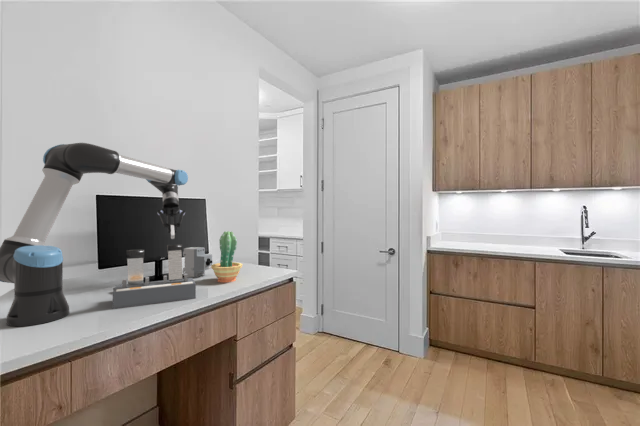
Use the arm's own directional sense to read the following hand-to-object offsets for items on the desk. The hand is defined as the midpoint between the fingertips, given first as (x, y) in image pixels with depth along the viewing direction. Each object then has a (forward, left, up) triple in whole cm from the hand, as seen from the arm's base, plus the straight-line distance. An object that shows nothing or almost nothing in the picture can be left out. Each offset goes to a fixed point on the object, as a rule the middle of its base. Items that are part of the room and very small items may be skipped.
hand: (172, 237), depth 144 cm
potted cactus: (+25, -1, -23) cm, 34 cm away
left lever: (-14, -21, -16) cm, 30 cm away
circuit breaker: (+14, +17, -23) cm, 32 cm away
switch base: (-7, -21, -23) cm, 32 cm away
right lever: (0, -21, -16) cm, 27 cm away
